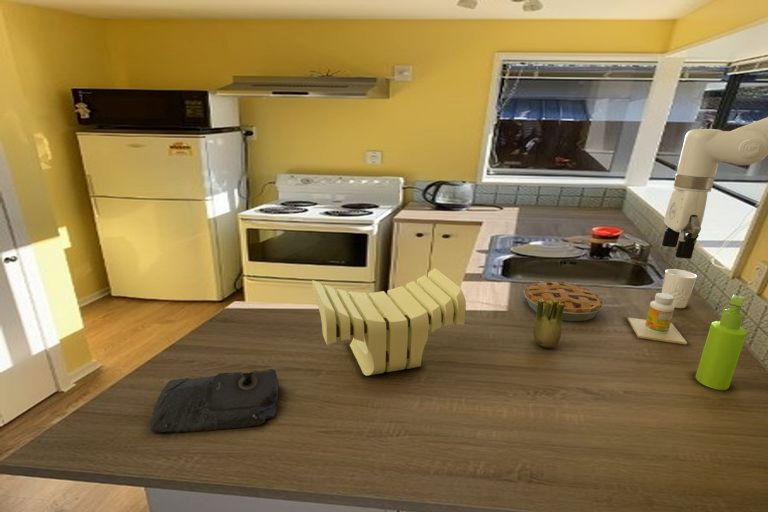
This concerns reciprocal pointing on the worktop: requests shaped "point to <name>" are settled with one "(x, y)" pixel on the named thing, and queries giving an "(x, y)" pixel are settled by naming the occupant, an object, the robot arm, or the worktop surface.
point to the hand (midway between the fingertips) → (675, 251)
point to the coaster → (644, 333)
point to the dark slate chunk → (216, 402)
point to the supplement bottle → (660, 313)
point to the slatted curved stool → (390, 320)
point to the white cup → (679, 286)
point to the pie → (564, 299)
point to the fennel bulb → (548, 324)
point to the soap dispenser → (723, 347)
